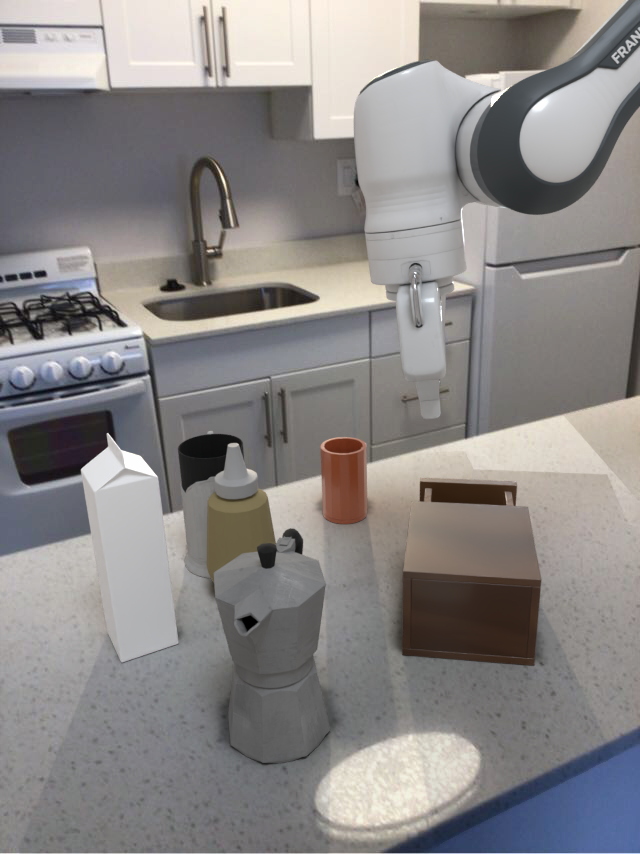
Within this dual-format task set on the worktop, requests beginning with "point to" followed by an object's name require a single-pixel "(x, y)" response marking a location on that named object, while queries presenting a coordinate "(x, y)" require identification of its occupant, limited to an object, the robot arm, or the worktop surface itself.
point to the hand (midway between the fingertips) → (431, 401)
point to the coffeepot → (273, 649)
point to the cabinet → (470, 583)
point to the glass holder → (200, 490)
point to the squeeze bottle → (236, 513)
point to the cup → (344, 479)
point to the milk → (130, 552)
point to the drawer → (468, 491)
